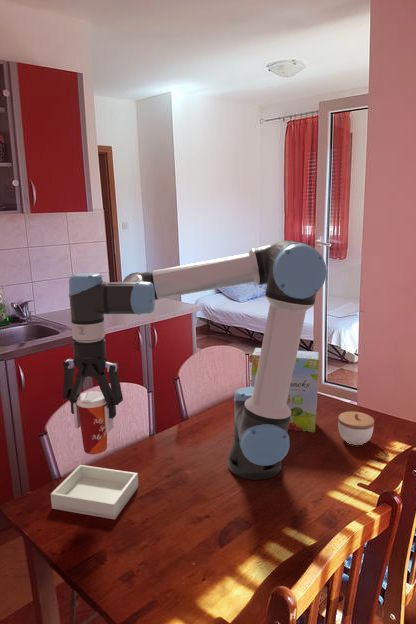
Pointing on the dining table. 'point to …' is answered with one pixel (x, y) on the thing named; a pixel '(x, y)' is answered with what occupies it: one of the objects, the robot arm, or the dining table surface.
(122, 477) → the tray
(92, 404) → the paper cup
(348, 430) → the lidded jar
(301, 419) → the snack box
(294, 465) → the dining table surface
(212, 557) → the dining table surface
